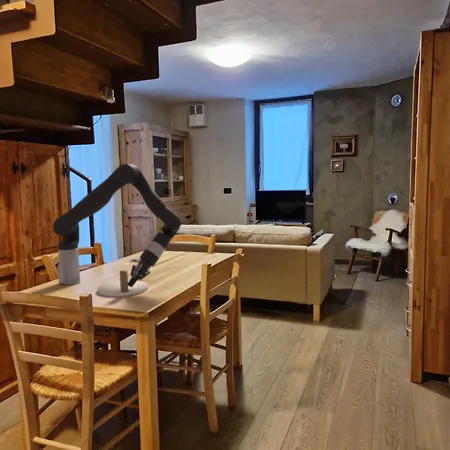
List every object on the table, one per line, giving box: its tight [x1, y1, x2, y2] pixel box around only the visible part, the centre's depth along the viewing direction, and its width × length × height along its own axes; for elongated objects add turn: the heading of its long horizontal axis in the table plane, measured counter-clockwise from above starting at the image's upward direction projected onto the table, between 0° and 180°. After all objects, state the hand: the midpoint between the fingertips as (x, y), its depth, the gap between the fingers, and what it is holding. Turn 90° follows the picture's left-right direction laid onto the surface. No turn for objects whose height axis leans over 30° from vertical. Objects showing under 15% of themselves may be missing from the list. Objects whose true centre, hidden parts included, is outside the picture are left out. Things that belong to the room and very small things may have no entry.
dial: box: [97, 269, 149, 298], centre depth 185 cm, size 22×22×10 cm
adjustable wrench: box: [129, 257, 141, 263], centre depth 262 cm, size 25×6×2 cm, turn 146°
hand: (129, 286), depth 178 cm, fingers closed
